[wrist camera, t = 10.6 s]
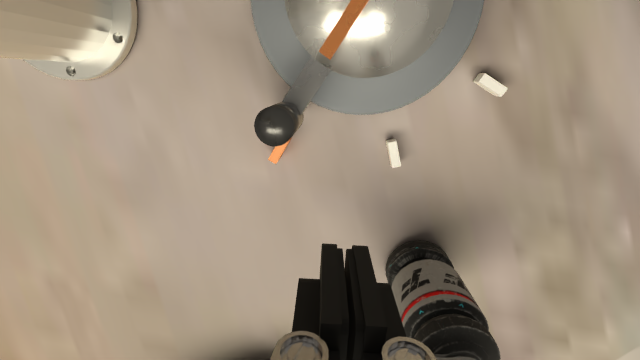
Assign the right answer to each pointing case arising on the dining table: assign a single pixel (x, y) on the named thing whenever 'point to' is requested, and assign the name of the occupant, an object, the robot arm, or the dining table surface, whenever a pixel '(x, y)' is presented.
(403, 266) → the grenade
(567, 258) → the dining table surface
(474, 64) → the dining table surface
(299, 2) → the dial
